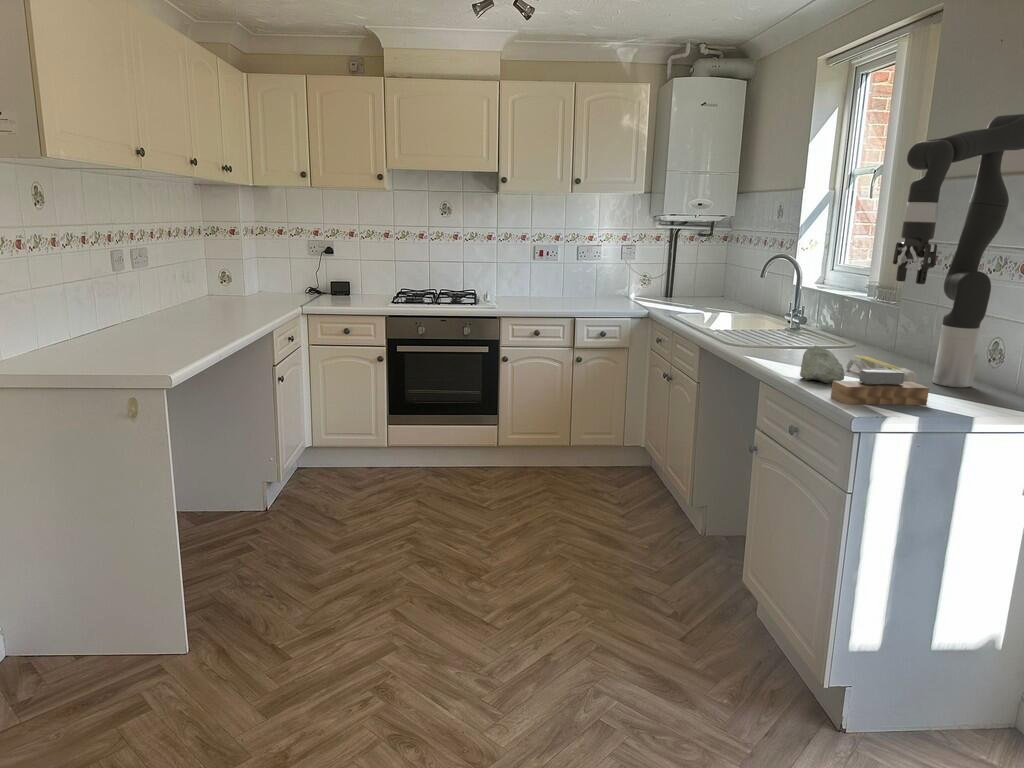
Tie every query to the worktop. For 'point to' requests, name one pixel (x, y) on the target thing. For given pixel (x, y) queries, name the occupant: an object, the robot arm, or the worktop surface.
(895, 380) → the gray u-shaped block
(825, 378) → the decorative stone
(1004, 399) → the worktop surface
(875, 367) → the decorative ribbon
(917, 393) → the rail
